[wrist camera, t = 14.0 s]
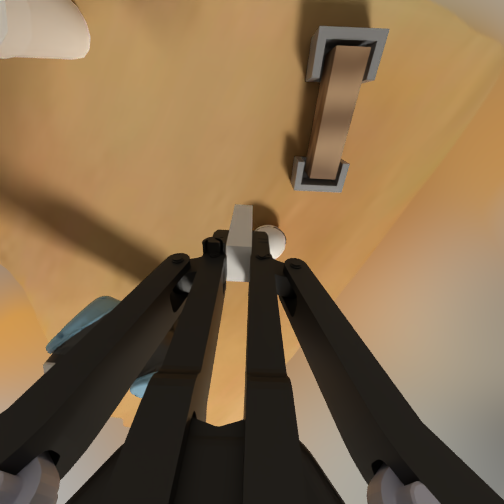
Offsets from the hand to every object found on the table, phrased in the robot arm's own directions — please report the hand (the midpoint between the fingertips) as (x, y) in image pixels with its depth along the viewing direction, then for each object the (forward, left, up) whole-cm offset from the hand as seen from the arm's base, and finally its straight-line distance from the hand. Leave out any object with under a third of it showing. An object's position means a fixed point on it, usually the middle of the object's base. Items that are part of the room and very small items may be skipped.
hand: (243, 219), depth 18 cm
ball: (-13, -3, -23) cm, 26 cm away
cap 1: (+14, -11, -23) cm, 29 cm away
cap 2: (-1, -11, -23) cm, 25 cm away
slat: (+7, -12, -22) cm, 26 cm away
